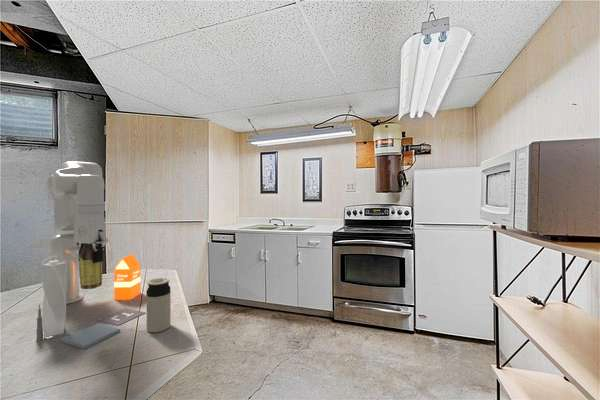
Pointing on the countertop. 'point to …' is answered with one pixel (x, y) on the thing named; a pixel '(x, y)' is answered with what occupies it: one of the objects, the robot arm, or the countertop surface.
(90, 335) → the pad
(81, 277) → the sauce bottle
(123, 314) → the tile
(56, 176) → the robot arm
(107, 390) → the countertop surface
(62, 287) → the skyscraper
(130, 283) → the orange juice
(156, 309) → the travel mug
